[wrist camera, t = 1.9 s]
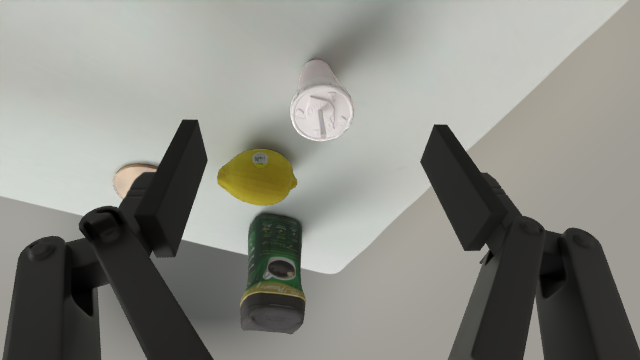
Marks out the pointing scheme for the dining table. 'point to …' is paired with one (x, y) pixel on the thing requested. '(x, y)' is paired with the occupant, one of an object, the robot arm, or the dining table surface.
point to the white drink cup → (320, 103)
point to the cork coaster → (129, 177)
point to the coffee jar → (273, 276)
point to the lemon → (258, 177)
